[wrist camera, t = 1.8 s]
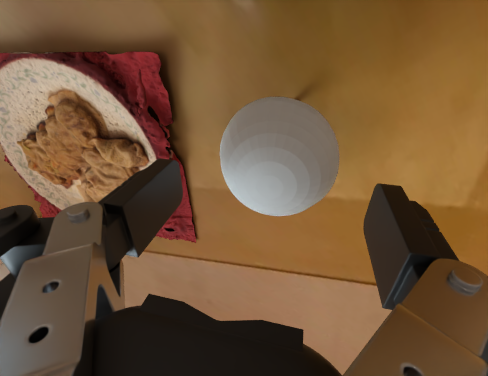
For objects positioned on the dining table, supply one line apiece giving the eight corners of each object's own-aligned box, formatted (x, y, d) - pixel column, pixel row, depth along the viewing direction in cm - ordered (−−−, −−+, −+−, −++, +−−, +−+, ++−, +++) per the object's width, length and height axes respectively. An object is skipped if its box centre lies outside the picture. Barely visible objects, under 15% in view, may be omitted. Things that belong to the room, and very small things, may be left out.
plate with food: (-36, 51, 29) (-76, 54, 26) (164, 50, 23) (141, 54, 20) (53, 214, 41) (34, 228, 39) (196, 241, 35) (185, 260, 33)
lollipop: (339, 117, 23) (368, 222, 10) (281, 145, 25) (248, 255, 13) (309, 50, 20) (302, 81, 8) (249, 88, 23) (174, 155, 11)
